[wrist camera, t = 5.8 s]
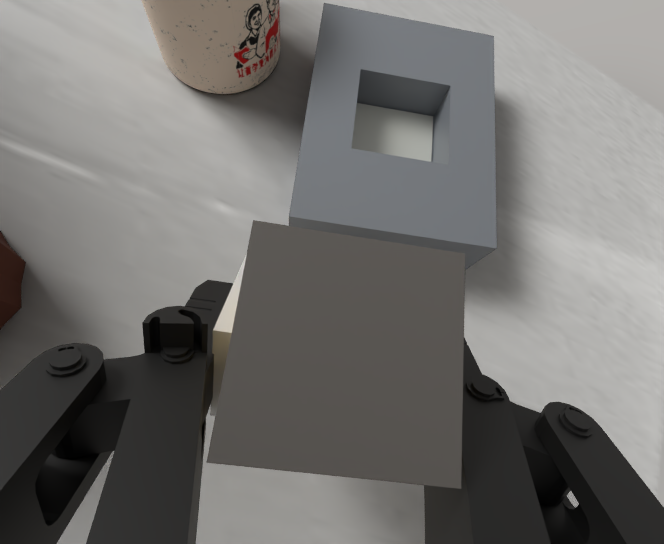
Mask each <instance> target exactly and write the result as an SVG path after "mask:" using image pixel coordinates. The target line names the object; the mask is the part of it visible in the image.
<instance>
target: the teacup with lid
mask: <svg viewBox="0 0 664 544" xmlns="http://www.w3.org/2000/svg"><path fill="white" fill-rule="evenodd" d="M142 3H143V6H144V8H145V11H146V14H147V16H148V19H149V22H150V24H151V27H152V30H153V32H154V35H155V38H156V40H157V43H158V46H159V48H160V51H161V54H162V56H163V59H164V61H165V63H166V65H167V66H168V68H169V69H170V70H171V72H172V73H173V74H174V75H175V76H176V77H177V78H178V79H180V80H181V81H182V82H184V83H185V84H187V85H189V86H191V87H193V88H195V89H198V90H201V91H204V92H209V93H215V94H231V93H238V92H242V91H245V90H248V89H250V88H253V87H255V86H256V85H258V84H260V83H261V82H262V81H264V80H265V79H266V78H267V77H268V76H269V75H270V74H271V73H272V71H273V70H274V68H275V66H276V64H277V62H278V59H279V54H280V16H279V0H142Z"/></svg>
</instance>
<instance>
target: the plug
mask: <svg viewBox="0 0 664 544" xmlns="http://www.w3.org/2000/svg"><path fill="white" fill-rule="evenodd" d="M464 294H465V254H464V253H458V252H452V251H445V250H439V249H432V248H426V247H420V246H413V245H407V244H401V243H394V242H388V241H382V240H375V239H369V238H362V237H356V236H350V235H343V234H337V233H331V232H324V231H318V230H312V229H305V228H299V227H292V226H286V225H280V224H273V223H267V222H261V221H254V220H253V225H252V230H251V235H250V240H249V245H248V250H247V256H246V261H245V266H244V271H243V276H242V282H241V287H240V292H239V297H238V302H237V308H236V313H235V318H234V323H233V328H232V333H231V339H230V344H229V349H228V354H227V359H226V365H225V370H224V375H223V380H222V385H221V391H220V396H219V401H218V406H217V411H216V417H215V422H214V427H213V432H212V437H211V442H210V448H209V453H208V458H207V463H216V464H226V465H236V466H245V467H255V468H265V469H274V470H284V471H294V472H303V473H313V474H323V475H332V476H342V477H352V478H361V479H371V480H381V481H390V482H400V483H409V484H419V485H429V486H438V487H448V488H458V489H461V468H462V410H463V352H464Z"/></svg>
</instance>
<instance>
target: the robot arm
mask: <svg viewBox="0 0 664 544" xmlns="http://www.w3.org/2000/svg"><path fill="white" fill-rule="evenodd" d="M246 256H247V254H246ZM246 256H245V258H244V261H243V263H242V265H241V268H240V270H239V272H238V274H237V277H236V279H235V281H234V284H233V283H226V282H219V281H212V280H207V281H205V282H204V283H202V284H201V285H199V286H198V287H196V288H195V290H194V292H193V293H192V295H191V297H190V300H188V302H187V303H186V305H185V307H184V306H173V307H166V308H163V309H159V310H156V311H155V312H153V313H151V314H150V315H148V316H147V317H146V319H145V320H144V322H143V336H144V349H145V353H144V354H141V355H138V356H133V357H126V358H116V359H106V360H104V359H103V353H102V352H101V351H100V350H99V349H98V348H97V347H95V346H92V345H89V344H79V343H72V344H67V345H61V346H57V347H55V348H52V349H50V350H47V351H45V352H43V353H42V354H41V355H39V356H38V357H36V358H35V359H34V360H33V361H31V362H30V363H29V364H28V365H27V366H26V367H25V368H24V369H23V370H22V371H21V372H20V373H19V374H18V375H17V376H15V377H14V378H13V379H12V380H11V381H10V382H9V383H8V384H7V385H6V386H5V387H4V388H3V389H2V390H1V391H0V544H56V543H57V542H58V540H59V538H60V537H61V535H62V533H63V532H64V530H65V528H66V527H67V525H68V524H69V522H70V520H71V519H72V517H73V515H74V514H75V512H76V510H77V509H78V507H79V505H80V504H81V502H82V500H83V499H84V497H85V496H86V494H87V492H88V491H89V489H90V487H91V486H92V484H93V482H94V481H95V479H96V477H97V476H98V474H99V472H100V471H101V469H102V467H103V466H104V464H105V463H106V461H107V459H108V458H109V456H110V454H111V453H112V451H115V452H114V455H113V458H112V461H111V465H110V468H109V471H108V474H107V478H106V481H105V484H104V487H103V491H102V494H101V497H100V500H99V504H98V507H97V510H96V513H95V517H94V520H93V523H92V526H91V530H90V533H89V536H88V539H87V543H86V544H196V532H197V521H198V510H199V498H200V487H201V476H202V464H203V453H204V442H205V430H206V415H207V413H208V410H209V407H210V404H211V412H210V415H213V416H216V411H217V406H218V401H219V396H220V391H221V385H222V380H223V375H224V370H225V365H226V359H227V354H228V349H229V344H230V339H231V333H232V328H233V323H234V318H235V313H236V308H237V302H238V297H239V292H240V287H241V282H242V276H243V271H244V266H245V261H246ZM570 490H571V491H572V493H573V494H574V496H575V498H576V499H577V501H578V503H579V505H578V506H577V507H576V508H575V507H574V506H573V505H572V504H571V502H570V501H569V499H568V498H567V494H568V493H569V492H570ZM424 498H425V544H664V507H663V506H662V505H661V504H660V502H659V501H658V500H657V498H656V497H655V496H654V495H653V493H652V492H651V491H650V489H649V488H648V487H647V486H646V484H645V483H644V482H643V480H642V479H641V478H640V477H639V475H638V474H637V473H636V472H635V470H634V469H633V468H632V466H631V465H630V464H629V463H628V461H627V460H626V459H625V457H624V456H623V455H622V454H621V452H620V451H619V450H618V448H617V447H616V446H615V445H614V443H613V442H612V441H611V439H610V438H609V437H608V436H607V434H606V433H605V432H604V431H603V429H602V428H601V427H600V426H599V425H598V424H597V423H596V422H595V421H594V419H593V418H592V417H590V416H589V415H587V414H586V413H584V412H583V411H582V410H580V409H578V408H576V407H574V406H571V405H569V404H565V403H561V402H550V403H549V404H547V405H546V406H545V407H544V409H543V411H542V412H541V413H539V412H536V411H533V410H531V409H528V408H525V407H523V406H520V405H517V404H515V403H512V402H510V400H509V397H508V396H507V394H506V392H505V390H504V389H503V388H502V387H501V386H500V385H499V384H498V383H497V382H495V381H494V380H492V379H491V378H489V377H487V376H485V375H482V373H481V371H480V369H479V367H478V365H477V363H476V361H475V359H474V357H473V355H472V353H471V350H470V348H469V346H468V345H467V342H466V340H465V338H464V352H463V410H462V468H461V489H458V488H448V487H438V486H429V485H424Z"/></svg>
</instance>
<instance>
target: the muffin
mask: <svg viewBox="0 0 664 544" xmlns="http://www.w3.org/2000/svg"><path fill="white" fill-rule="evenodd" d="M25 263H26V262H25V261H24V260H23V259H22V258H21V257H20V256H19V255H18V254H17V253H16V252H15V251H14V250H13V249H12V248H11V247H10V246H9V244H8V243H7V241H6V239H5V238H4V236H3V235H2V233H1V231H0V329H1V328H2V327H3V326H4V325H5V324H6V323H7V322H8V321H9V320H10V319H11V318H12V316H13V315H14V314H15V313H16V312H17V311H18V310H19V309H20V308H21V283H22V278H23V273H24V268H25Z"/></svg>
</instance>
